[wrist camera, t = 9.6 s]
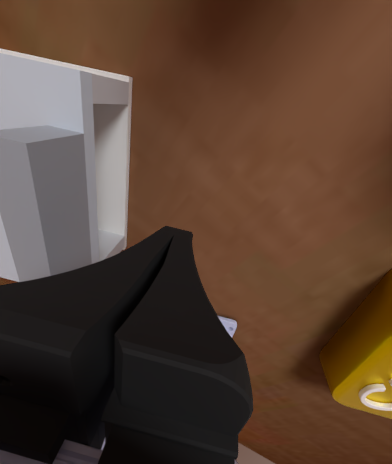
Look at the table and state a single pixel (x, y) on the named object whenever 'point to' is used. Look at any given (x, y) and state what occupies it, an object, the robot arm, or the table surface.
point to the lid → (46, 170)
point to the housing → (107, 152)
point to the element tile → (363, 355)
